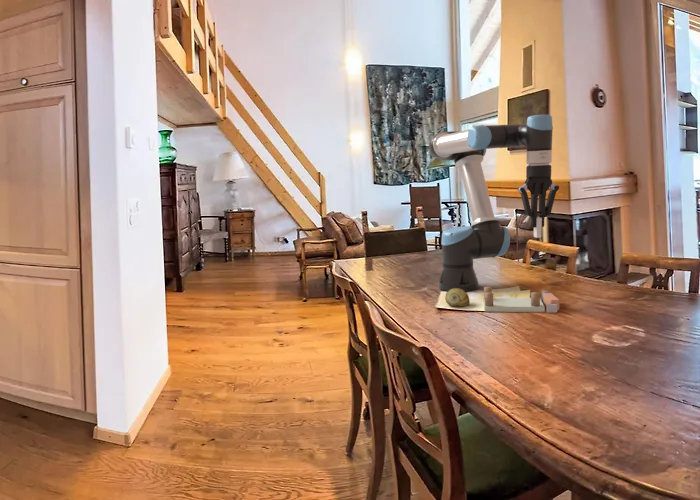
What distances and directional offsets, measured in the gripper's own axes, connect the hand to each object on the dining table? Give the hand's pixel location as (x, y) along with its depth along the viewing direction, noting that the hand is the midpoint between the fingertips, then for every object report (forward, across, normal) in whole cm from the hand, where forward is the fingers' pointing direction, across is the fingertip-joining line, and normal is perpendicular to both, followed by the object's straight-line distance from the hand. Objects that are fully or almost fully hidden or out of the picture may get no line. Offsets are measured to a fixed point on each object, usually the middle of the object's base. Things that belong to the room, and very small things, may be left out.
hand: (537, 236), depth 160 cm
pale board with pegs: (+22, -9, -7) cm, 24 cm away
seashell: (+23, -26, +2) cm, 35 cm away
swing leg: (+21, +1, -8) cm, 23 cm away
